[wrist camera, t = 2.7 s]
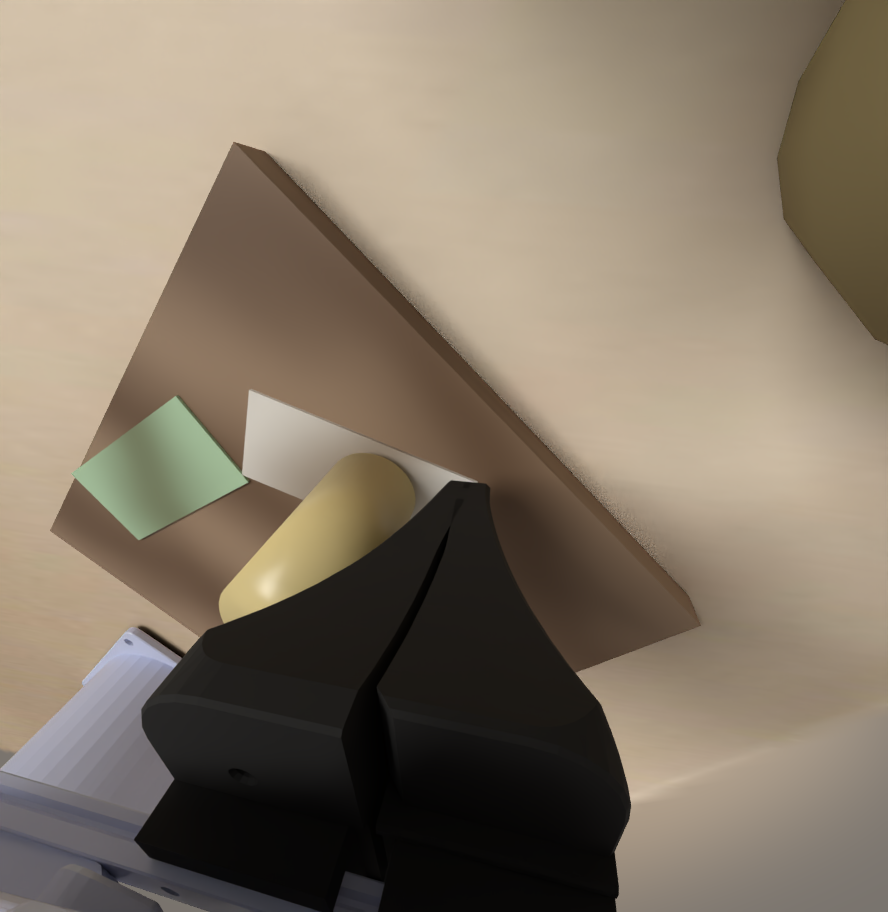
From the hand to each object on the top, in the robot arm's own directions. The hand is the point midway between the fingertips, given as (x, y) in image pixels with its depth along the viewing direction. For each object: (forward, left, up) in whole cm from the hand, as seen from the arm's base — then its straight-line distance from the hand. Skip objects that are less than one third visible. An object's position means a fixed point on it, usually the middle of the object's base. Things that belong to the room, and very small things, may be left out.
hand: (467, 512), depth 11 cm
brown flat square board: (-7, +1, -2) cm, 7 cm away
